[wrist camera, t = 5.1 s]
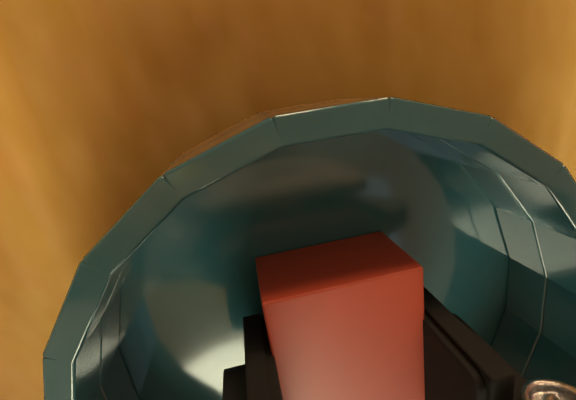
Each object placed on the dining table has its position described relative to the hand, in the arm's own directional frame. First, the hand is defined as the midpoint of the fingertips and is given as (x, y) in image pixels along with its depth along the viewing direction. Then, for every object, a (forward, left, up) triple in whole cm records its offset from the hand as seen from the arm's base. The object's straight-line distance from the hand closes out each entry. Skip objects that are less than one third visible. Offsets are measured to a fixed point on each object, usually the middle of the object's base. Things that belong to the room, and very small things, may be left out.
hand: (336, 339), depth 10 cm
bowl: (0, 0, -1) cm, 1 cm away
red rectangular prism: (0, 0, -1) cm, 1 cm away
